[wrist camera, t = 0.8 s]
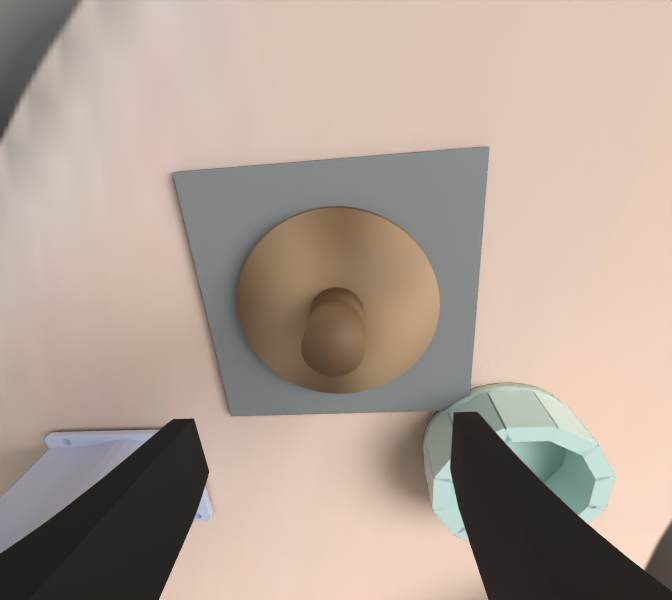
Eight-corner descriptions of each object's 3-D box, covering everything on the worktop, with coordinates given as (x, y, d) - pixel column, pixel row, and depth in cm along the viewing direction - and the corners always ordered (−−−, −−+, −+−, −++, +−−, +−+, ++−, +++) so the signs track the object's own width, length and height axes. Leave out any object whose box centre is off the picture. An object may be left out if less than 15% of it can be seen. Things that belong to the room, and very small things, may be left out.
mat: (233, 412, 23) (231, 416, 22) (176, 171, 17) (172, 172, 17) (466, 405, 22) (468, 409, 21) (486, 146, 16) (489, 146, 16)
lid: (258, 387, 21) (236, 445, 17) (223, 213, 17) (183, 237, 13) (434, 381, 21) (453, 441, 17) (439, 198, 17) (466, 217, 13)
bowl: (421, 496, 25) (431, 549, 22) (423, 385, 21) (435, 429, 18) (561, 494, 24) (593, 549, 21) (588, 379, 20) (631, 424, 17)
